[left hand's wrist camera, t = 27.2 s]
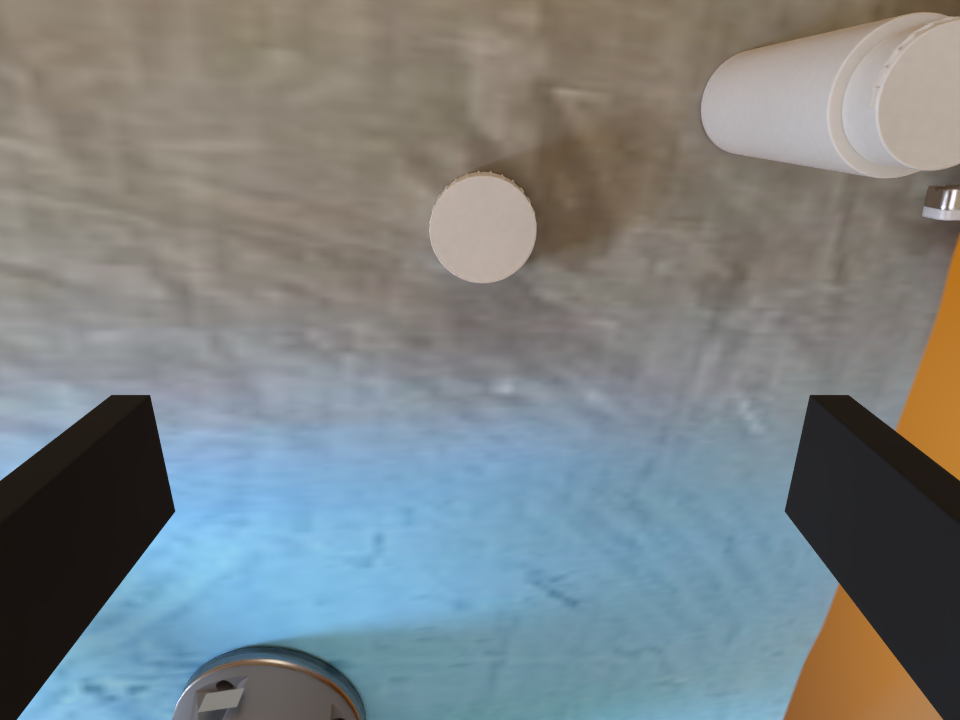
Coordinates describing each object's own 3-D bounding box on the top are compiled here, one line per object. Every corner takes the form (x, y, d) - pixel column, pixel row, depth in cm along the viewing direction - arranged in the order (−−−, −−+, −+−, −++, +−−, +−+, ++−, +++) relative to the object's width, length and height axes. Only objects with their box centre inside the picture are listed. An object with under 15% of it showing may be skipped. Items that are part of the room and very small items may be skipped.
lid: (421, 260, 38) (417, 269, 36) (444, 158, 36) (442, 161, 34) (518, 285, 39) (520, 295, 36) (547, 186, 36) (551, 191, 34)
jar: (807, 48, 34) (1062, 1, 19) (789, 154, 36) (1007, 185, 21) (707, 49, 34) (884, 1, 19) (694, 154, 36) (845, 185, 21)
